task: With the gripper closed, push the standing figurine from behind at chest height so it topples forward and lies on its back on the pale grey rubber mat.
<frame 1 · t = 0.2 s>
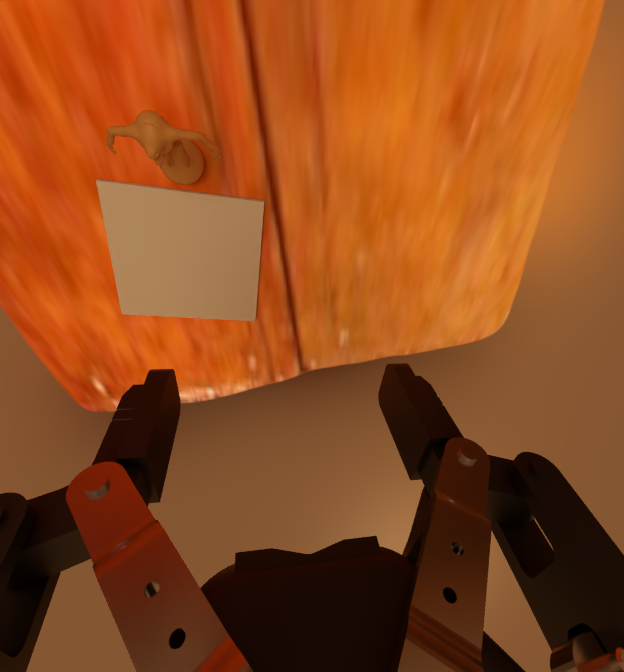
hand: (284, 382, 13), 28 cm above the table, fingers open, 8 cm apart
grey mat: (189, 259, 38), on the table
figurine: (183, 145, 32), on the table
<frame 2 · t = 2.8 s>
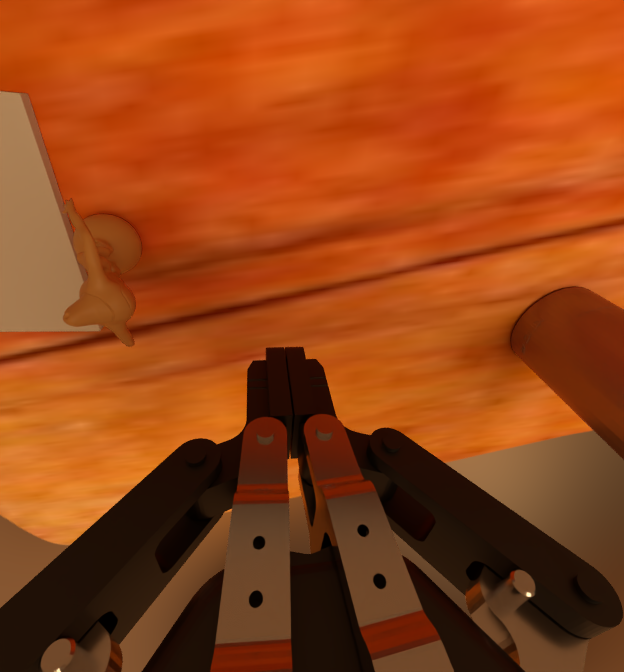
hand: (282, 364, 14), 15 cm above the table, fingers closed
figurine: (134, 233, 24), on the table
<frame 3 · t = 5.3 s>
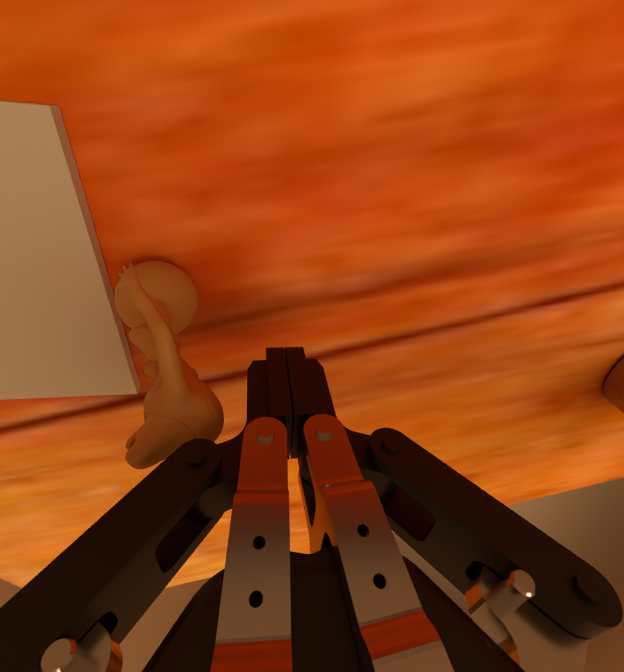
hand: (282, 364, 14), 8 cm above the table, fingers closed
figurine: (186, 280, 19), on the table, touching gripper
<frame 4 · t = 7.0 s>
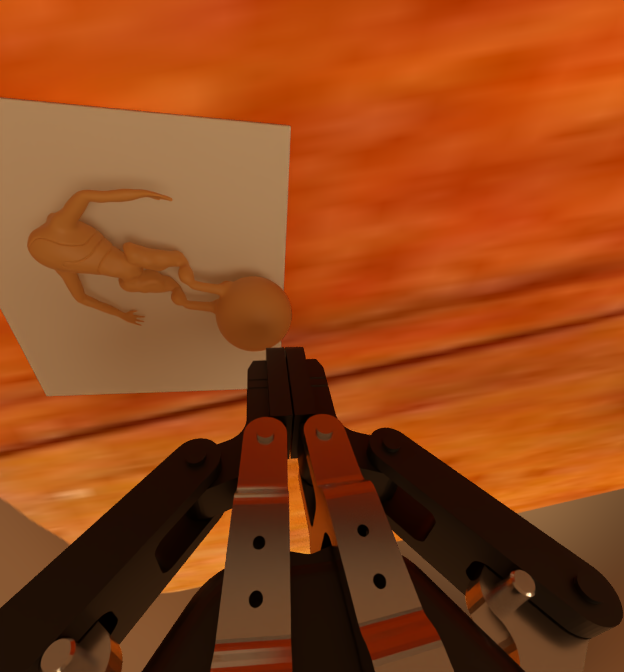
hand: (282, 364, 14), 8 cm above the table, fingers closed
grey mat: (149, 279, 19), on the table
figurine: (282, 348, 17), point 4 cm above the table, touching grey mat
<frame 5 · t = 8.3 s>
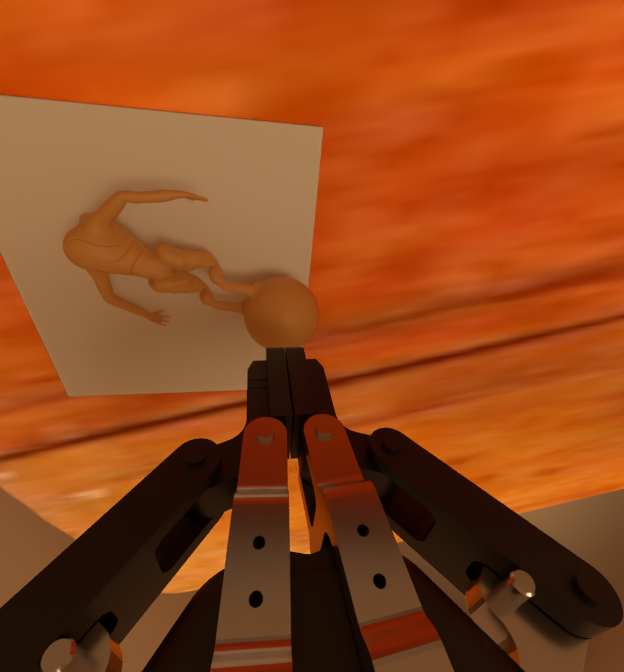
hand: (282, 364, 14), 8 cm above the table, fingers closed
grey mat: (175, 280, 19), on the table
figurine: (310, 348, 17), point 4 cm above the table, touching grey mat
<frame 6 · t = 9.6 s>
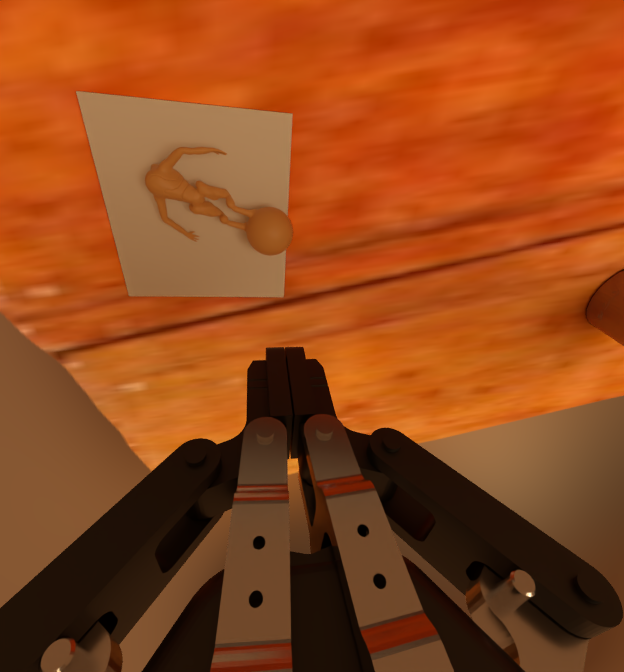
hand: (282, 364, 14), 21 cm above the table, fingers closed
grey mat: (202, 212, 29), on the table
figurine: (287, 251, 28), point 4 cm above the table, touching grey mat
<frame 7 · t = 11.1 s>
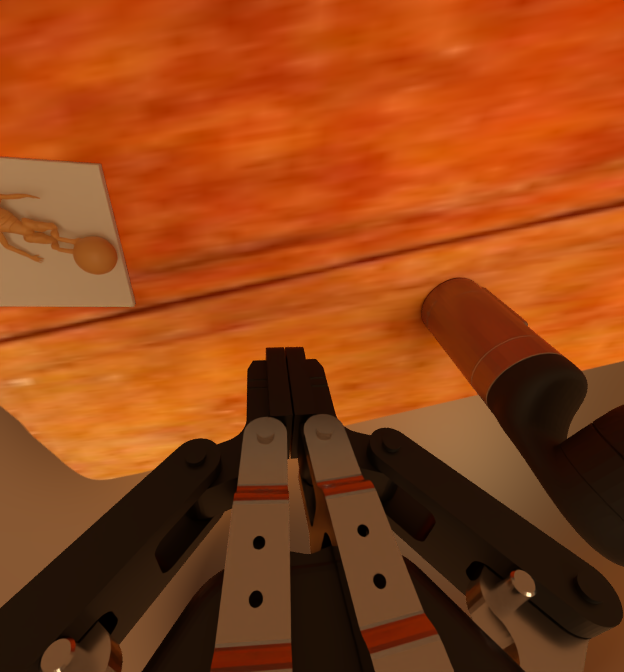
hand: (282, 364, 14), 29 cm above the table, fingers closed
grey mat: (46, 239, 36), on the table
figurine: (107, 271, 35), point 4 cm above the table, touching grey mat
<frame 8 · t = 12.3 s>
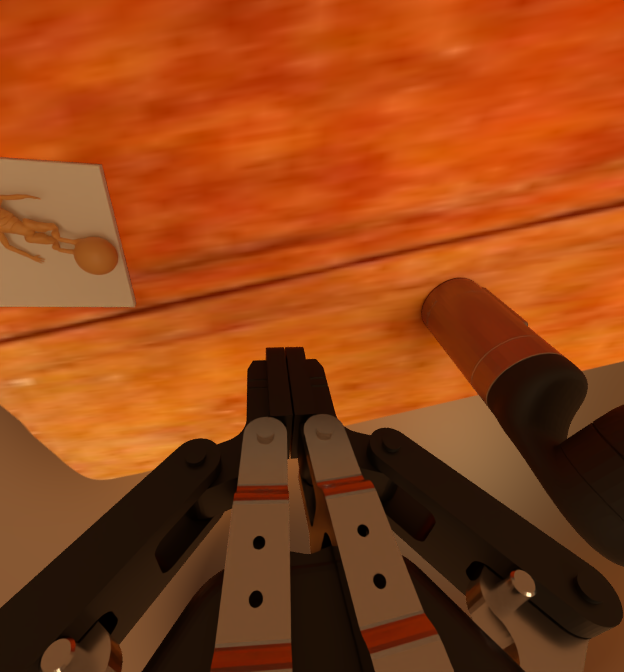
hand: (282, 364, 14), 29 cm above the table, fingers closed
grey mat: (47, 240, 36), on the table
figurine: (108, 271, 35), point 4 cm above the table, touching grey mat
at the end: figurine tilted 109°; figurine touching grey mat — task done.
